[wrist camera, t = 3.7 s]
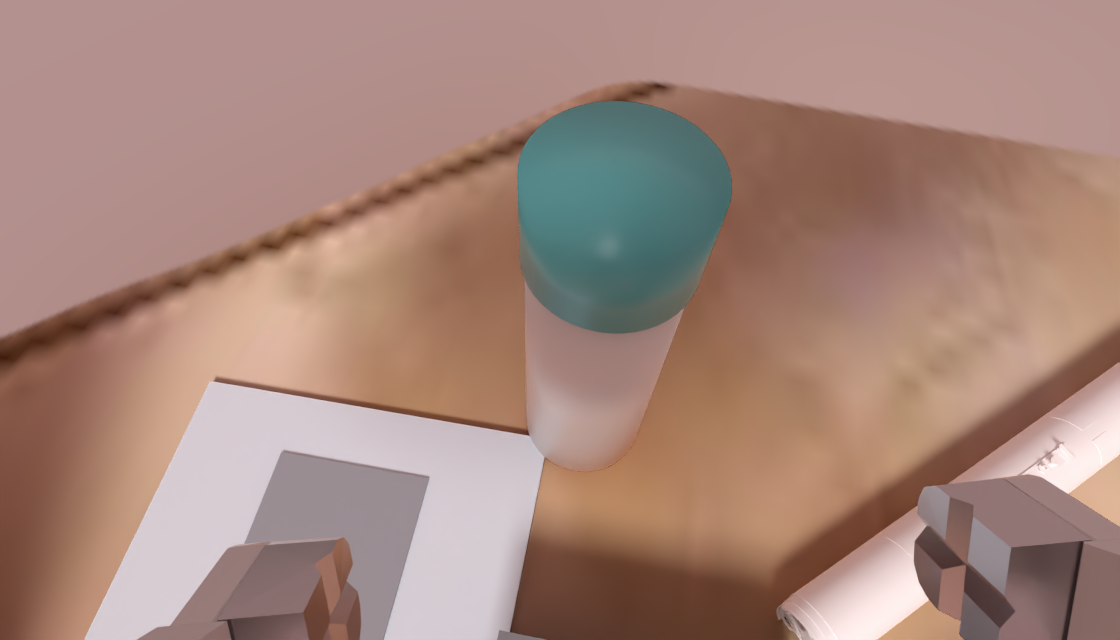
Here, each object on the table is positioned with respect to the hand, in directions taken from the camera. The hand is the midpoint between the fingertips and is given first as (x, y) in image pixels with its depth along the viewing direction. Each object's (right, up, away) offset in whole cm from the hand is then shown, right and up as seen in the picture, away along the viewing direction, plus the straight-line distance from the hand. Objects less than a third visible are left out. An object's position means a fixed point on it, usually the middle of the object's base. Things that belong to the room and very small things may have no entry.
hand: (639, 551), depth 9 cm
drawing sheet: (-8, -4, +11) cm, 14 cm away
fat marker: (0, 0, +13) cm, 13 cm away
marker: (+13, -2, +12) cm, 18 cm away
